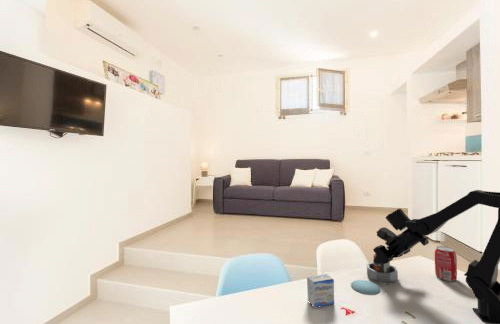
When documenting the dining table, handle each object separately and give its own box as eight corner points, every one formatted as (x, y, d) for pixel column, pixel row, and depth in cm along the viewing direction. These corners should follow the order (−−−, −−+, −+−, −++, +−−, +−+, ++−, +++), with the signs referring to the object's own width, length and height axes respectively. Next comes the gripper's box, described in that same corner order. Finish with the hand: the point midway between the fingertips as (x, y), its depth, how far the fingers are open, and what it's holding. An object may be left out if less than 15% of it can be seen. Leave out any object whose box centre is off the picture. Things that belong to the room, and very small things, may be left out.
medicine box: (313, 308, 82) (313, 282, 82) (307, 301, 87) (306, 276, 87) (334, 304, 84) (334, 279, 84) (327, 297, 89) (326, 273, 89)
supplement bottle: (370, 275, 104) (369, 248, 104) (380, 272, 107) (379, 246, 107) (383, 282, 99) (382, 253, 99) (393, 278, 102) (392, 250, 102)
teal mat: (381, 296, 89) (381, 295, 89) (351, 291, 92) (351, 290, 92) (378, 283, 98) (378, 282, 98) (350, 279, 102) (350, 278, 102)
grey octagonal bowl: (399, 285, 96) (399, 275, 96) (368, 281, 100) (368, 271, 100) (394, 273, 106) (394, 264, 106) (366, 270, 110) (366, 261, 110)
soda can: (449, 274, 104) (448, 245, 104) (461, 282, 97) (461, 251, 97) (431, 274, 105) (430, 245, 105) (442, 282, 98) (441, 251, 98)
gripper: (401, 219, 105) (376, 239, 114) (377, 226, 94) (352, 247, 104) (423, 242, 98) (394, 261, 108) (400, 253, 88) (370, 273, 97)
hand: (378, 260), depth 104 cm, fingers closed on supplement bottle, 6 cm apart
